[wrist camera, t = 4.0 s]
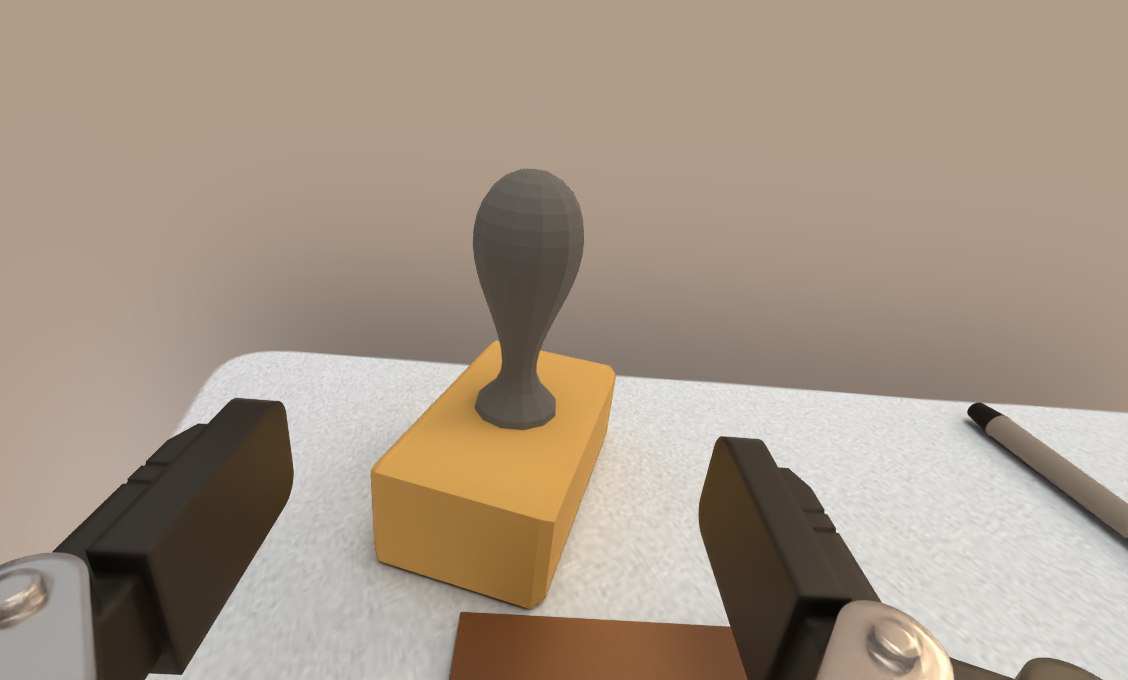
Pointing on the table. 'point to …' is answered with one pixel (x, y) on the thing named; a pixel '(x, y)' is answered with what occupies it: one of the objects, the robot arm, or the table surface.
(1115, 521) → the pen
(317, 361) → the table surface
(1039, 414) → the table surface
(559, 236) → the rubber stamp
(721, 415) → the table surface
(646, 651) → the brown leather mat
